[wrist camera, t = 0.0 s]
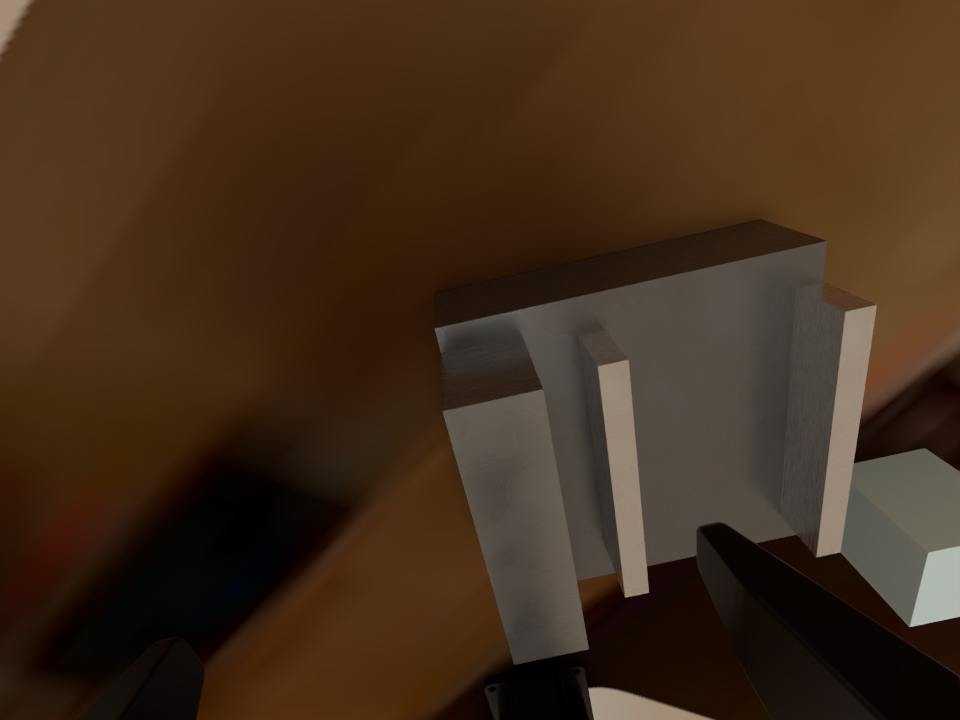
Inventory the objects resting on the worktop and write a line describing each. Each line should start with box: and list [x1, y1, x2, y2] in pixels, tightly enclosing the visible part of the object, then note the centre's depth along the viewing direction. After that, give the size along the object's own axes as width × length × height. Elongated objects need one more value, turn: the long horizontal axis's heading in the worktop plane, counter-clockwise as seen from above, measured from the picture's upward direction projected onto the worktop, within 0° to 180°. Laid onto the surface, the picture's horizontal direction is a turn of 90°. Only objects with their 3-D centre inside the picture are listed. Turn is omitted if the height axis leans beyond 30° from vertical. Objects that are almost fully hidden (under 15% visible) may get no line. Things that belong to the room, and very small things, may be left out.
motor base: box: [435, 220, 877, 665], centre depth 21 cm, size 14×14×8 cm
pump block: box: [841, 448, 960, 627], centre depth 26 cm, size 5×5×6 cm
